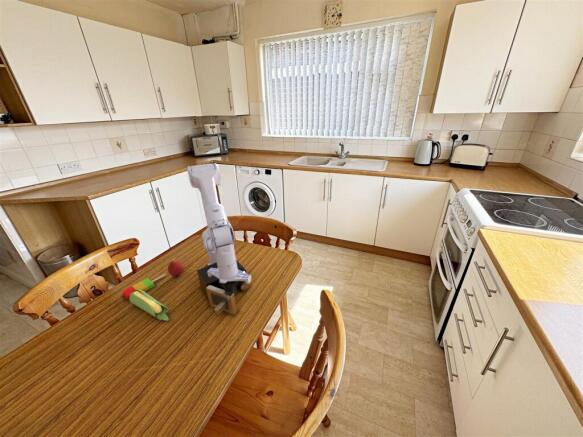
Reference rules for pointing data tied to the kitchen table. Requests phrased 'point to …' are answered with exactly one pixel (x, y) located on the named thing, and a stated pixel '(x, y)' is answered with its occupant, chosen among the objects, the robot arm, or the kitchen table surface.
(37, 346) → the kitchen table surface
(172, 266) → the onion
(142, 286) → the popsicle
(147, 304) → the edible corn
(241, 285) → the microwave
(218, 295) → the door
